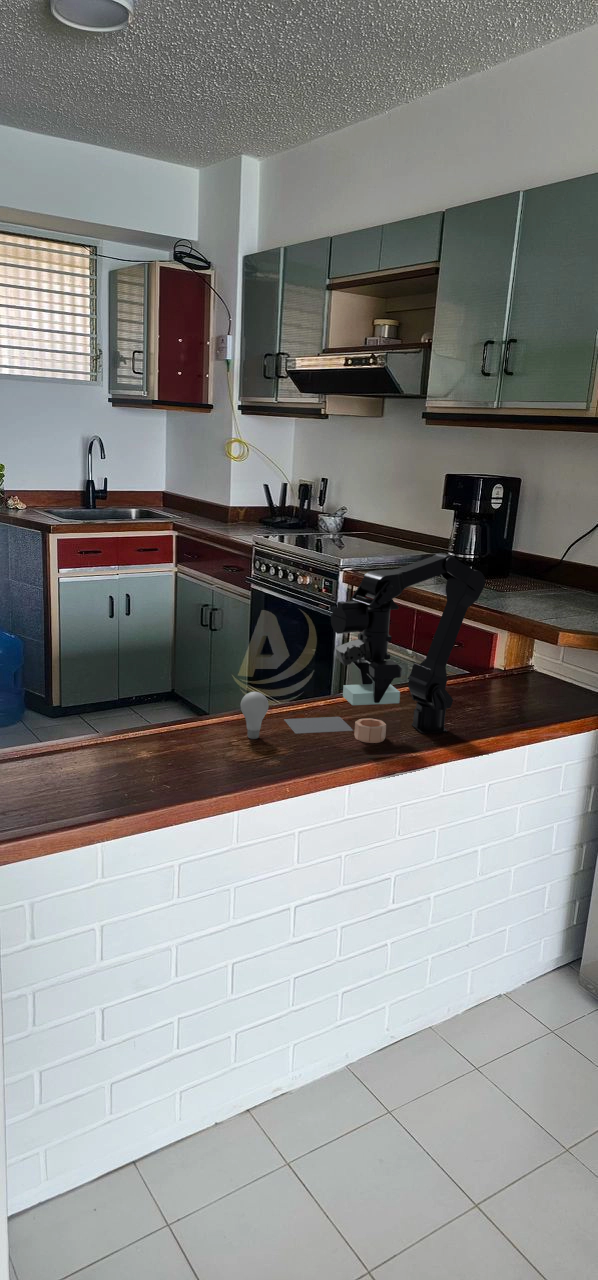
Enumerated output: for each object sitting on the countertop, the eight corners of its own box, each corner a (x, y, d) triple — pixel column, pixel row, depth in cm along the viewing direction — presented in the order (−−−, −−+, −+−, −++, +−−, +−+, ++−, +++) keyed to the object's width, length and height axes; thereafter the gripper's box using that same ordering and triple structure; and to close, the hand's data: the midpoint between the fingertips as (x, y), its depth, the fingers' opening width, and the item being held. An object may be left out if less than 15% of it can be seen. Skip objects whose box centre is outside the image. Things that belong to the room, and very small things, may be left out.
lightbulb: (263, 746, 189) (265, 697, 186) (236, 742, 190) (237, 694, 187) (269, 736, 195) (271, 689, 192) (243, 733, 196) (245, 687, 193)
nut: (377, 734, 200) (379, 717, 199) (388, 744, 194) (389, 727, 193) (350, 735, 198) (351, 719, 197) (360, 745, 192) (362, 728, 191)
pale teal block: (388, 694, 199) (389, 683, 198) (399, 703, 193) (400, 691, 192) (342, 696, 196) (343, 685, 195) (352, 705, 190) (352, 693, 189)
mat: (339, 718, 209) (339, 716, 209) (353, 733, 200) (353, 730, 200) (283, 721, 205) (283, 719, 205) (295, 736, 196) (295, 733, 196)
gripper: (328, 621, 197) (324, 687, 201) (354, 640, 179) (350, 712, 183) (374, 620, 200) (369, 685, 204) (405, 639, 182) (399, 710, 186)
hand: (371, 697), depth 194 cm, fingers closed on pale teal block, 7 cm apart
